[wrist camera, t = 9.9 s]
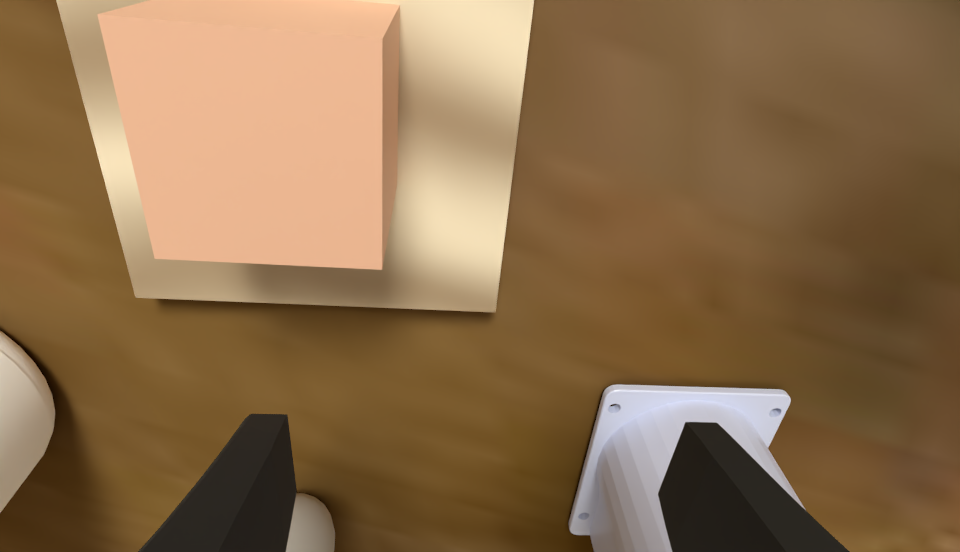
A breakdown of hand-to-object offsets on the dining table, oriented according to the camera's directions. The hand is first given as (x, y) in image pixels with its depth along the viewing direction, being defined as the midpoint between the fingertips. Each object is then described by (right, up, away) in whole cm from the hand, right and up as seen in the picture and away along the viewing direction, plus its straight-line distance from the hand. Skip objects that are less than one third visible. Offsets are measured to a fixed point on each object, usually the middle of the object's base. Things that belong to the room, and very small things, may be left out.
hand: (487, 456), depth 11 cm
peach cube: (-5, +8, +5) cm, 11 cm away
